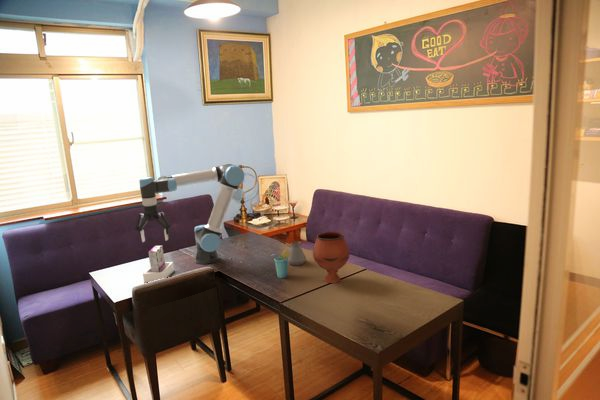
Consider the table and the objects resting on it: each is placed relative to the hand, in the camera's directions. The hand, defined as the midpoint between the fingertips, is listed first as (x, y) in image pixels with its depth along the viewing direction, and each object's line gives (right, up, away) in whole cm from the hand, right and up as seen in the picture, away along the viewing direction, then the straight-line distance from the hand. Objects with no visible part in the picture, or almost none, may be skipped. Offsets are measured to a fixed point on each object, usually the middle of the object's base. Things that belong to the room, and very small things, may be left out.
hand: (155, 240), depth 234 cm
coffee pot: (+77, -15, +14) cm, 80 cm away
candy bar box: (+1, -21, +4) cm, 21 cm away
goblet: (+100, -19, -17) cm, 104 cm away
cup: (+73, -19, -8) cm, 76 cm away
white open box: (+1, -21, +4) cm, 22 cm away
